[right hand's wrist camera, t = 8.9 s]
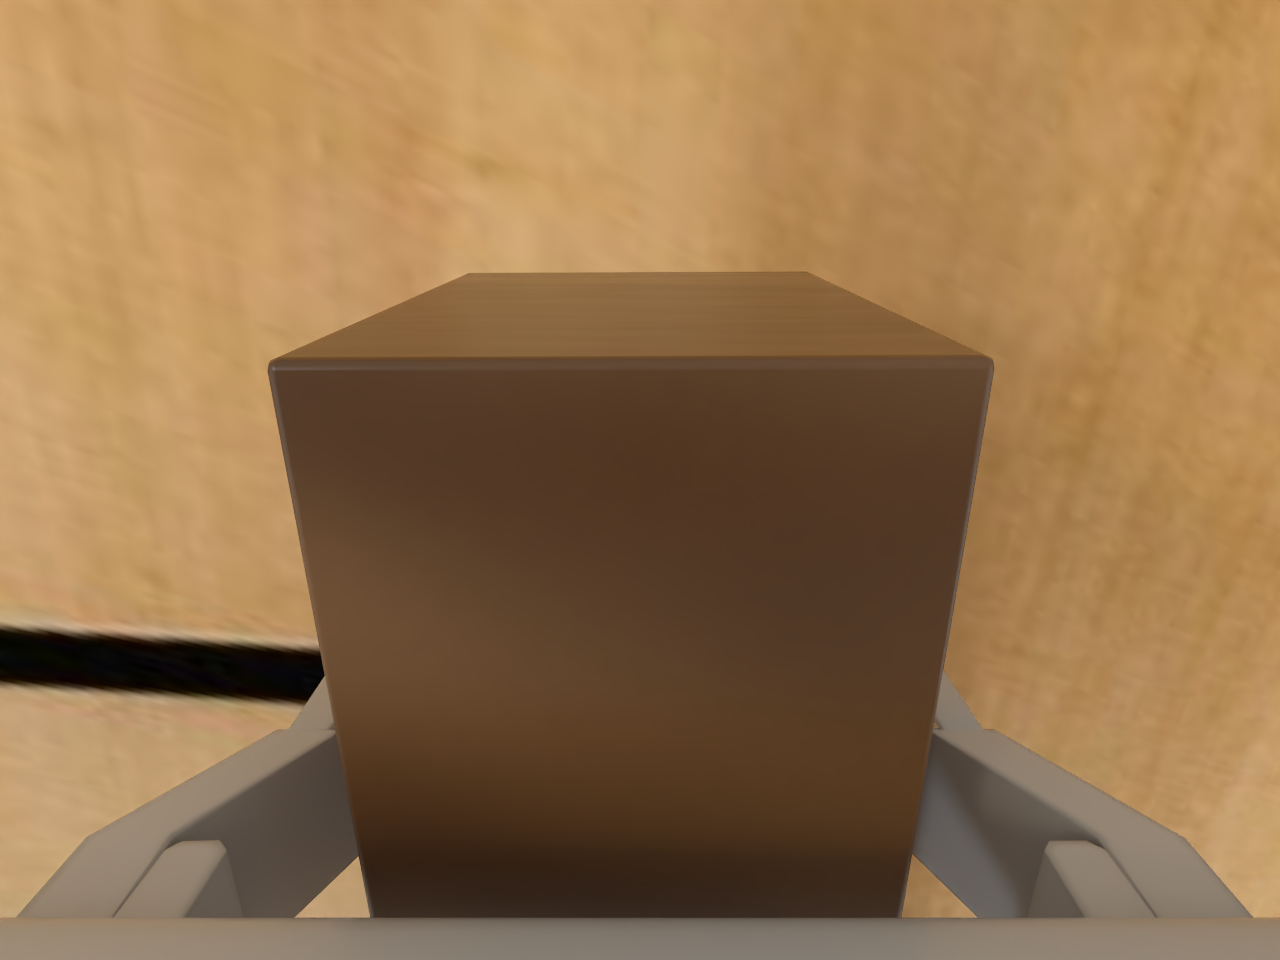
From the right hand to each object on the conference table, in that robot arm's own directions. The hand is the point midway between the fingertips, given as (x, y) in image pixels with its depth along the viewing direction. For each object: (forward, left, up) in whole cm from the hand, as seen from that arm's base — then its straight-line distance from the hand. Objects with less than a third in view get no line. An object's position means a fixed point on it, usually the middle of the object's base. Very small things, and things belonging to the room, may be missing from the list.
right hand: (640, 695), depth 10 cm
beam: (+29, -13, -3) cm, 32 cm away
